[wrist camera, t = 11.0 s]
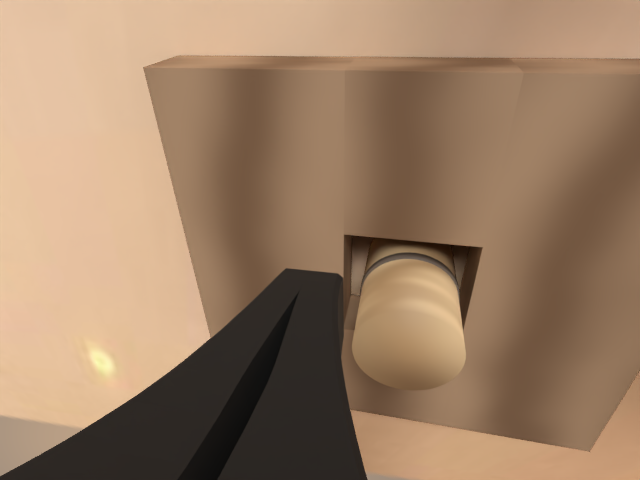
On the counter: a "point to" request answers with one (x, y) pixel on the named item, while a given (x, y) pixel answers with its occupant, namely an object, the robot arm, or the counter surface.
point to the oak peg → (409, 316)
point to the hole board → (429, 212)
